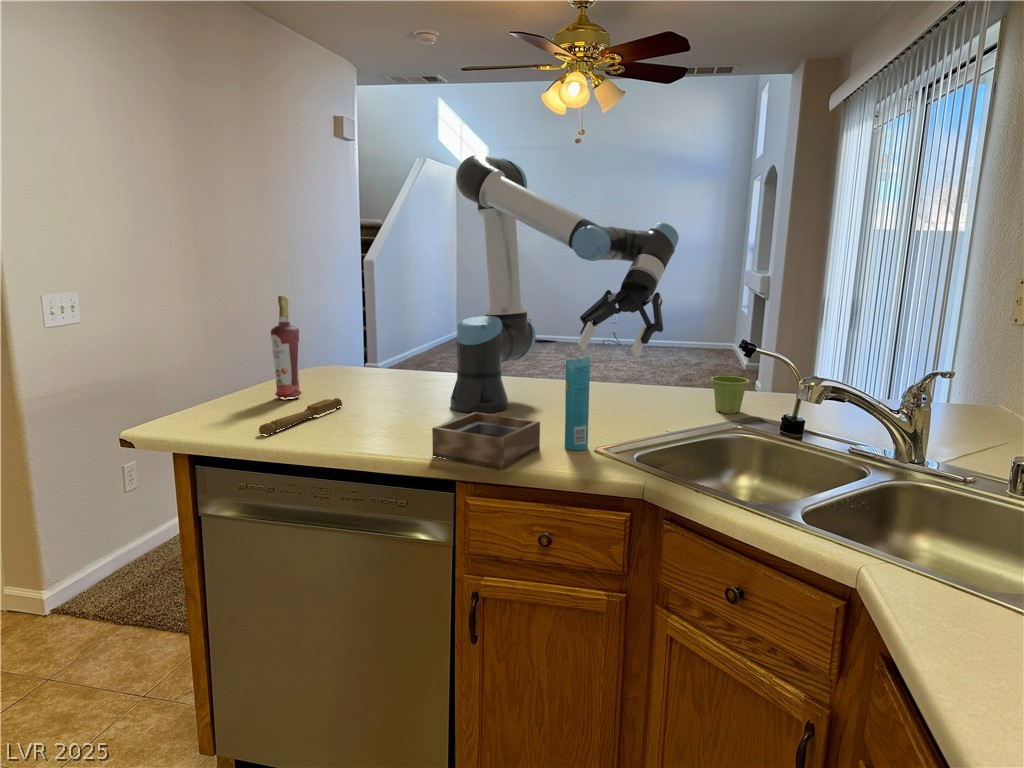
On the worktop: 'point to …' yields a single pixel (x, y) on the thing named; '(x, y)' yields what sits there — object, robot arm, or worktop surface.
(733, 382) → the plant pot
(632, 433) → the worktop surface
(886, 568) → the worktop surface
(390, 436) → the worktop surface
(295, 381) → the liquor
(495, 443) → the crate
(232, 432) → the worktop surface
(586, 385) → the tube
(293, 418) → the tap handle
